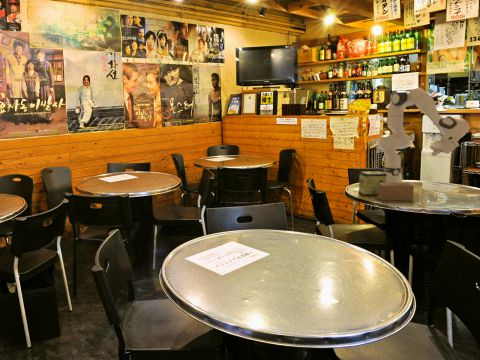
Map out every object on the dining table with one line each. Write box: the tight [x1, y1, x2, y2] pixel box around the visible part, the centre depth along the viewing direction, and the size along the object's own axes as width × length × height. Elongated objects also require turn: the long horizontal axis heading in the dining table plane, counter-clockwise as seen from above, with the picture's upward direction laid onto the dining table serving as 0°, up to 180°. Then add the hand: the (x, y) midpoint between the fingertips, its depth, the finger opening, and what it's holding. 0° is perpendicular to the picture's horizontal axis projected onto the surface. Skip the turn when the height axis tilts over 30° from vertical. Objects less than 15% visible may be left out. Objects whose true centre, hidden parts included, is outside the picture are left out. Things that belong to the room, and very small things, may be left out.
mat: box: [373, 197, 417, 204], centre depth 277 cm, size 13×22×1 cm, turn 95°
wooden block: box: [377, 182, 415, 201], centre depth 279 cm, size 10×10×20 cm
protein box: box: [358, 170, 387, 197], centre depth 293 cm, size 10×16×16 cm
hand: (432, 155), depth 278 cm, fingers closed
